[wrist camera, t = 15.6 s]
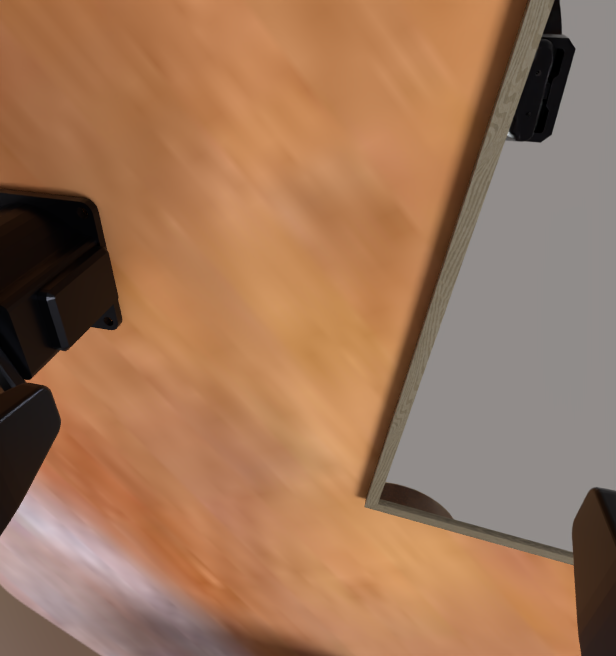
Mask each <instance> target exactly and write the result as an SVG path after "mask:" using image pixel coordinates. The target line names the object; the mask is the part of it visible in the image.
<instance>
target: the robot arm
mask: <svg viewBox="0 0 616 656" xmlns="http://www.w3.org/2000/svg"><path fill="white" fill-rule="evenodd" d="M82 208H84V209H85V210H86V211H87V213H88V215H87V214H85V213H84V212H83V210H82ZM109 318H111V319H112V321H111V320H110V319H109ZM121 323H122V315H121V311H120V306H119V302H118V293H117V289H116V284H115V280H114V275H113V271H112V266H111V261H110V257H109V253H108V251H107V248H106V243H105V239H104V234H103V230H102V225H101V221H100V216H99V212H98V209H97V206H96V205H95V204H94V203H93V202H92V201H91V200H89V199H86V198H79V197H70V196H61V195H52V194H43V193H35V192H26V191H17V190H8V189H0V536H1V534H2V533H3V531H4V530H5V528H6V527H7V525H8V524H9V522H10V521H11V519H12V517H13V516H14V514H15V513H16V511H17V509H18V508H19V506H20V504H21V502H22V501H23V499H24V497H25V495H26V493H27V492H28V490H29V488H30V486H31V484H32V482H33V480H34V478H35V476H36V474H37V472H38V471H39V469H40V467H41V465H42V463H43V461H44V459H45V457H46V455H47V453H48V452H49V450H50V448H51V446H52V444H53V442H54V440H55V438H56V436H57V434H58V432H59V429H60V425H61V419H60V415H59V412H58V409H57V407H56V404H55V401H54V398H53V395H52V392H51V390H50V389H49V388H48V387H47V386H44V385H39V384H33V383H26V381H25V380H30V379H31V378H32V377H33V376H34V375H35V374H36V373H37V372H38V371H39V370H40V369H41V368H43V367H44V366H45V365H46V364H47V363H48V362H49V361H50V360H51V359H52V358H53V357H54V356H55V355H56V354H57V353H58V352H59V351H60V350H61V351H67V350H68V349H69V348H70V347H71V346H72V345H73V344H74V343H75V342H76V341H77V340H78V339H79V338H80V337H81V336H82V335H83V334H84V333H85V332H86V331H87V330H88V329H89V328H90V327H95V328H101V329H107V330H115V329H117V328H118V326H119V325H120V324H121ZM24 379H25V380H24ZM572 546H573V562H574V578H575V593H576V609H577V624H578V635H579V642H580V649H581V656H616V490H611V489H605V488H600V487H593V488H591V489H590V490H589V492H588V493H587V495H586V497H585V499H584V501H583V503H582V505H581V507H580V509H579V510H578V512H577V514H576V516H575V518H574V521H573V525H572Z"/></svg>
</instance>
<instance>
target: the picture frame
mask: <svg viewBox="0 0 616 656" xmlns="http://www.w3.org/2000/svg"><path fill="white" fill-rule="evenodd" d="M593 487H600V488H605V489H611V490H616V0H528V2H527V5H526V8H525V11H524V15H523V18H522V21H521V24H520V27H519V30H518V33H517V36H516V39H515V42H514V45H513V48H512V51H511V54H510V58H509V61H508V64H507V67H506V70H505V73H504V76H503V79H502V82H501V85H500V88H499V91H498V94H497V98H496V101H495V104H494V107H493V110H492V113H491V116H490V119H489V122H488V125H487V128H486V131H485V134H484V137H483V141H482V144H481V147H480V150H479V153H478V156H477V159H476V162H475V165H474V168H473V171H472V174H471V177H470V180H469V184H468V187H467V190H466V193H465V196H464V199H463V202H462V205H461V208H460V211H459V214H458V217H457V220H456V224H455V227H454V230H453V233H452V236H451V239H450V242H449V245H448V248H447V251H446V254H445V257H444V260H443V263H442V267H441V270H440V273H439V276H438V279H437V282H436V285H435V288H434V291H433V294H432V297H431V300H430V303H429V306H428V310H427V313H426V316H425V319H424V322H423V325H422V328H421V331H420V334H419V337H418V340H417V343H416V346H415V350H414V353H413V356H412V359H411V362H410V365H409V368H408V371H407V374H406V377H405V380H404V383H403V386H402V389H401V393H400V396H399V399H398V402H397V405H396V408H395V411H394V414H393V417H392V420H391V423H390V426H389V429H388V432H387V436H386V439H385V442H384V445H383V448H382V451H381V454H380V457H379V460H378V463H377V466H376V469H375V472H374V476H373V479H372V482H371V485H370V488H369V491H368V494H367V497H366V502H365V507H366V508H370V509H373V510H377V511H381V512H384V513H388V514H391V515H395V516H398V517H402V518H406V519H409V520H413V521H416V522H420V523H424V524H427V525H431V526H434V527H438V528H442V529H445V530H449V531H452V532H456V533H460V534H463V535H467V536H470V537H474V538H478V539H481V540H485V541H488V542H492V543H496V544H499V545H503V546H506V547H510V548H514V549H517V550H521V551H524V552H528V553H531V554H535V555H539V556H542V557H546V558H549V559H553V560H557V561H560V562H564V563H567V564H571V565H574V562H573V546H572V525H573V521H574V518H575V516H576V514H577V512H578V510H579V509H580V507H581V505H582V503H583V501H584V499H585V497H586V495H587V493H588V492H589V490H590V489H591V488H593Z"/></svg>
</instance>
